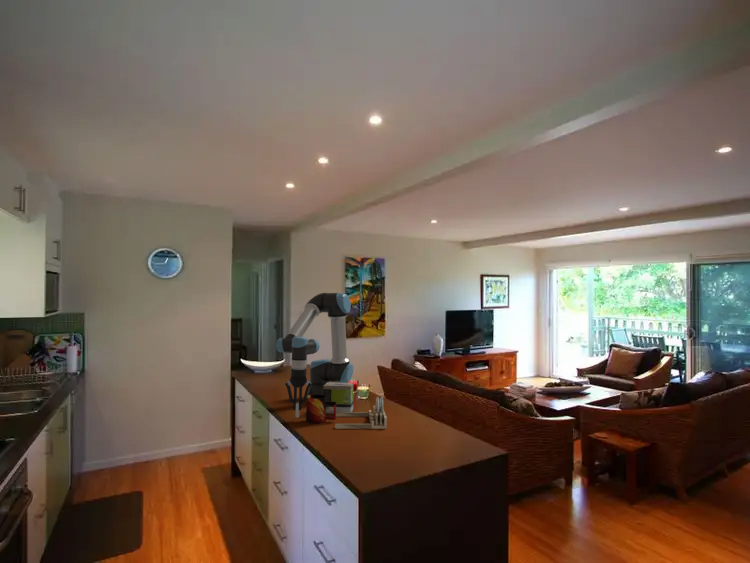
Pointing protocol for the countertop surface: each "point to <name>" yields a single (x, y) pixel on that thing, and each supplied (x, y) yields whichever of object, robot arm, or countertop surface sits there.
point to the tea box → (339, 396)
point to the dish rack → (376, 419)
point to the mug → (318, 409)
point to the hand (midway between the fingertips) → (297, 416)
